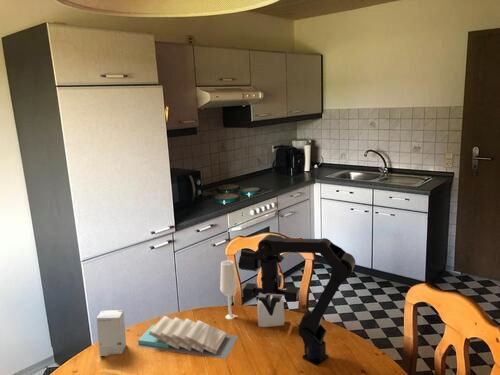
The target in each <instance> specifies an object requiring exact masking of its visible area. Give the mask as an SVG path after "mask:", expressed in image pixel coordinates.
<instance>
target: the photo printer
mask: <svg viewBox="0 0 500 375" xmlns="http://www.w3.org/2000/svg"><path fill="white" fill-rule="evenodd" d="M272 297H273V296H272V295H270V300H271V299H272ZM256 303H257V304H256V306H257V307H256V310H257V324H258V327H260V328H267V327H268V328H269V327H279V326H285V306H284V305H285V304H284V299H283V297H282V298H281V300H280V302H277V303H276V306H275V309H274V312H273V315H272V316H270V315H269V313H268V311H267V309H266V307H265V306H264V304H263V303H262V301H259V298H257V302H256Z"/></svg>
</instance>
